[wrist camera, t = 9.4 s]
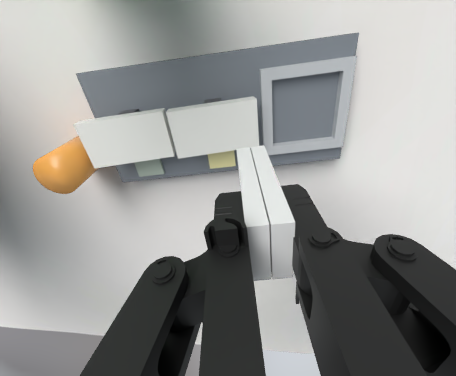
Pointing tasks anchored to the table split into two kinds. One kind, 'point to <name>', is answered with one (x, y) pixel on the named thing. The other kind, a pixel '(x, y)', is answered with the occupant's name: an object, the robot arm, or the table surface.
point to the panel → (240, 88)
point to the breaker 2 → (214, 127)
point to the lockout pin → (64, 167)
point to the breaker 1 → (126, 138)
